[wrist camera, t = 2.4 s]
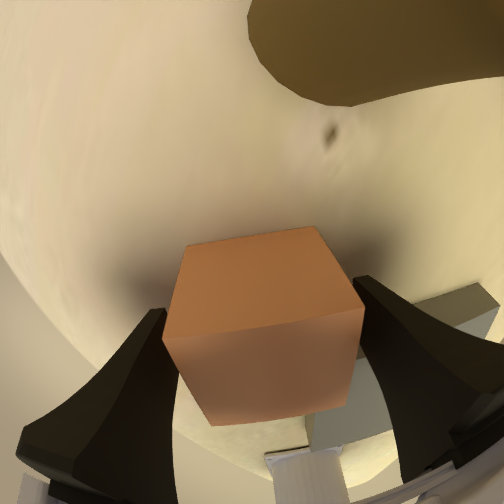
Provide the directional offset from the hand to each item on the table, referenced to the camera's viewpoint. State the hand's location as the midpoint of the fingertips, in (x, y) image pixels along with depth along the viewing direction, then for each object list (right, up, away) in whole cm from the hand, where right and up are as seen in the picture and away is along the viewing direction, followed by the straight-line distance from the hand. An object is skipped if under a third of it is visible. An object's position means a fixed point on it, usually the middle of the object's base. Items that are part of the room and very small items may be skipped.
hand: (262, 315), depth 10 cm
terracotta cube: (0, +1, +2) cm, 2 cm away
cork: (+2, +10, -3) cm, 11 cm away
